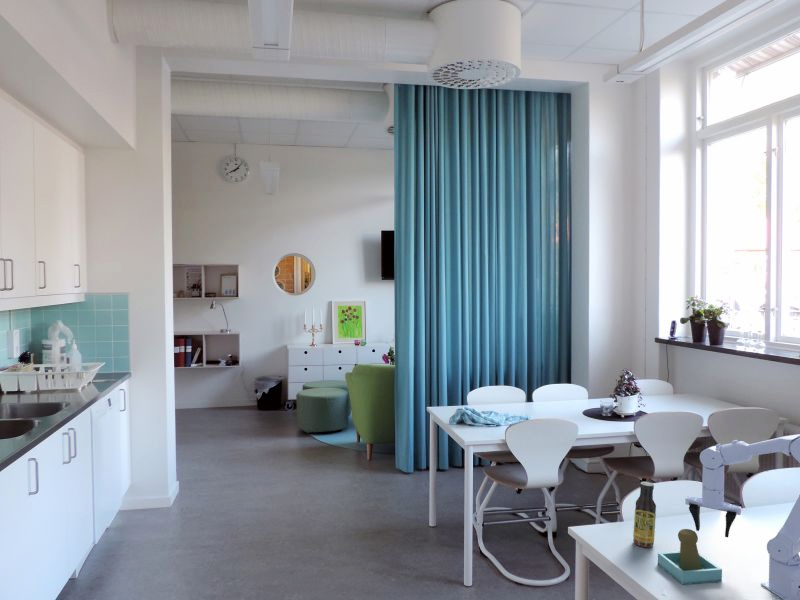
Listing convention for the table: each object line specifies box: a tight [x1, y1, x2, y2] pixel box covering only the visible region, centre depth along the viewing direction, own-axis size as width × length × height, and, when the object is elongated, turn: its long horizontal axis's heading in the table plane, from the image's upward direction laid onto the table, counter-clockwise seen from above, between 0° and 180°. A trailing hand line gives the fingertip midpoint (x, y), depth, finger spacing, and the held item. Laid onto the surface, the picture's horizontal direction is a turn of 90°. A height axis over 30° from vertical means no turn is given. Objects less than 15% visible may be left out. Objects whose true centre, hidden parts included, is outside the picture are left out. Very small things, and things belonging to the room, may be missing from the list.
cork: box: [677, 528, 702, 571], centre depth 173 cm, size 6×6×11 cm
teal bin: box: [657, 550, 723, 586], centre depth 172 cm, size 12×12×4 cm
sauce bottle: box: [632, 481, 657, 549], centre depth 190 cm, size 7×6×20 cm
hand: (712, 532), depth 176 cm, fingers open, 7 cm apart
